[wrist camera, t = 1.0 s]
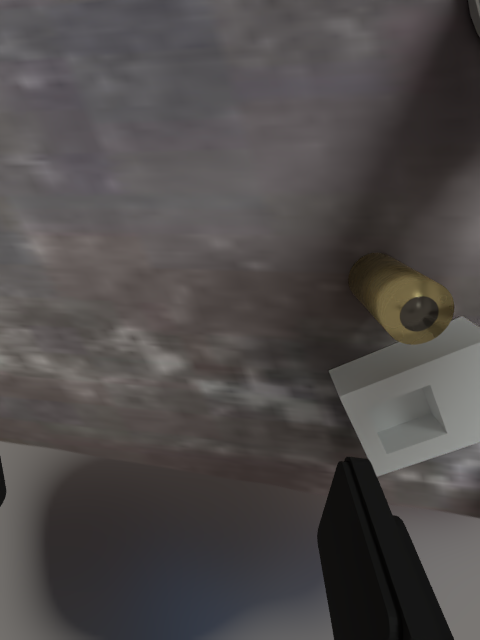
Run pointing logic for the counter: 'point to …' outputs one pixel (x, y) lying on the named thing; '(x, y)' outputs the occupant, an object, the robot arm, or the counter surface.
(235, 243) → the counter surface
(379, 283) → the cylinder
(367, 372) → the block
